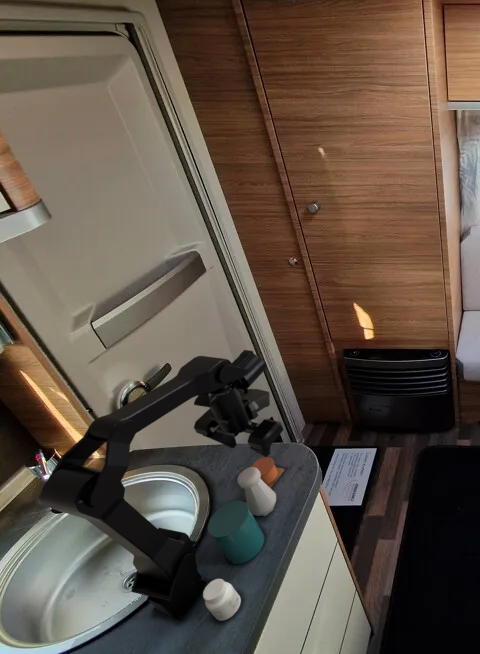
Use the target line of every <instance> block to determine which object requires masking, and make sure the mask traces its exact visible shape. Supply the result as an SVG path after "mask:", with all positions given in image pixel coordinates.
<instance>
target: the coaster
mask: <svg viewBox="0 0 480 654" xmlns="http://www.w3.org/2000/svg"><path fill="white" fill-rule="evenodd" d="M275 467H276V469H277V476H276V478H275V479H274V480H273V481H272V482H271V483H269V484H267V486H268V487H270V488H271V489H272V487H273V486H274V485H275V484H276V483H277V481H278V479H279V478H280V477H281V476H282V474H283V473H284V471H285V468H282V467H278V466H275Z"/></svg>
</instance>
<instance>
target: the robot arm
mask: <svg viewBox="0 0 480 654" xmlns="http://www.w3.org/2000/svg"><path fill="white" fill-rule="evenodd" d="M266 369H267V363H266V361H265V360H263V358H261V357H260V356H259V355H257V354H255V353H254V350H249V349H243V351H241V353H240V354H239V355H238V356H237V357H236V358H235V359H234V360H233V361H231V360H229V359H228V358H221V357H215V356H206V355H197V356H195V357H193V358H191V360H189V361H188V362H186V363H185V364H183V366H181V367H180V368H179V370H178V371H177V374H176V375H175V376H174V377H173V378H171V379H170V380H168V381H166V382H165V383H162V384H161V385H159V386H157V387H155V388H154V389H151V390H150V391H148V392H146V393H145V394H143V395H141V396H139V397H137V398H135V399H134V400H132V401H129V402H128V403H126V404H125V405H123V406H121V407H119V408H117V409H116V410H114V411H112V412H111V413H108V414H105V415H101V416H99V417H97V418H95V419H94V420H92V422H91V423H90V424H89V426H88V428H87V430H86V432H85V433H84V435H83V437H81V438H80V439H79V440H78V441H76V443H75V444H74V445H72V446H71V447H70V448H69V449H68V450H67V451H65V453H64V454H62V455H61V457H60V458H59V460H58V461H57V463H56V465H55V466H54V468H53V470H52V472H51V473H50V475H49V477H48V478H47V480H46V481H45V483H44V485H43V487H42V488H41V491H40V494H39V495H38V501H39V502H40V504H41V505H42V506H43V507H45V508H49V509H53V510H55V511H57V512H61V513H64V514H67V515H70V516H74V517H78V518H81V519H84V520H86V521H87V522H88V523H90V524H92V525H93V526H94V527H96V528H97V529H98V530H100V531H101V532H102V533H104V534H105V535H106V536H107V537H109V538H110V539H112V541H114V542H115V543H117V544H118V545H119V546H120V547H122V548H124V549H125V550H126V551H128V552H129V554H132V555H133V559H132V565H133V567H134V568H135V569H136V572H135V576H134V579H133V583H132V587H131V590H130V592H131V593H134V594H138V595H142V596H145V597H146V596H147V597H146V600H147V602H149V603H150V604H151V605H152V606H153V607H154V608H153V611H154V613H156V614H159V615H161V616H164V617H166V618H169V619H172V620H174V621H177V622H181V621H182V620H184V618H185V617H186V616H187V614H188V613H189V611H190V610H191V609H192V607H193V606H194V605H195V603H196V602H197V601H198V600H199V598H200V597H201V596H202V595H203V592H204V589H205V588H206V586H207V585H208V584H209V583H208V581H205V580H203V576H202V575H201V574H200V572H199V571H198V564H197V556H196V555H197V553H198V552H197V551H198V550H197V548H196V546H195V545H196V544H197V541H196V540H192V539H191V538H190V536H189V535H188V534H187V533H186V532H184V531H183V532H182V531H179V530H178V531H177V530H173V529H168V528H163V527H158V528H157V526H155V525H154V524H153V523H152V522H151V521H150V520H148V519H147V518H146V517H145V516H144V515H143V514H142V513H141V512H139V511H138V510H137V509H136V508H134V507H133V506H132V505H131V504H130V503H129V502H128V501H127V500H126V499H125V493H126V488H125V486H124V484H123V482H122V480H123V478H124V476H125V475H126V473H127V471H128V469H129V466H130V453H131V452H130V451H131V444H132V442H133V440H134V438H135V436H136V434H138V433H139V432H141V431H143V430H144V429H146V428H147V427H149V426H151V424H154V423H155V422H156V421H158V420H160V419H161V418H162V417H164V416H166V415H167V414H169V413H170V412H172V411H174V410H175V409H177V408H178V407H180V406H182V405H183V404H185V403H186V402H188V401H189V400H192V399H193V398H195V399H194V401H193V406H198V407H203V408H208V409H207V411H205V412H204V413H203V414H202V415H201V416H200V417H199V418H198V419H196V421H194V425H193V429H194V431H195V432H196V434H199V435H202V436H203V437H205V438H208V439H210V440H212V441H215V442H217V443H219V444H222V445H224V446H226V447H228V448H230V449H234V448H236V447H237V445H238V444H237V440H236V437H237V436H238V435H239V434H242V433H245V434H249V436H248V438H247V444H248V446H249V449H250V450H252V451H254V452H255V453H257V454H259V455H261V456H262V457H263V458H264V457H269V455H270V454H271V446H272V445H273V444H274V442H275V441H276V440H277V439H278V438H279V436H280V435H281V434H282V432H283V431H284V426H283V424H282V421H278V420H275V419H270V418H265V419H263V420H262V421H261V422H260V423H258V422H254V421H253V420H256V418H258V417H259V414H258V413H259V412H261V411H262V410H264V409H265V408H268V407H270V405H271V402H270V401H271V398H270V391H267V390H264V389H259V388H250V387H251V386H252V385H253V384H254V383H255V381H256V380H257V379H258V378H259V377H260V376H261V375H262V374H263V373H264V372H265V370H266ZM103 445H105V456H104V464H103V465H104V466H103V467H102V469H99V468H94V467H89V466H85V463H86V461H87V460H88V459H89V458H90V457H91V456H92V455H93V454H95V453H96V452H97V451H98V450H99V449H100V448H101V447H102V446H103Z"/></svg>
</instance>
